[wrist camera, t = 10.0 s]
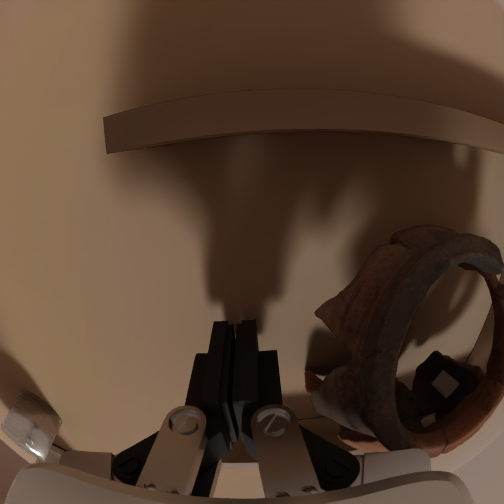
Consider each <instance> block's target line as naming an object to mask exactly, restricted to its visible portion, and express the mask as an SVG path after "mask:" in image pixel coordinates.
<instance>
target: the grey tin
mask: <svg viewBox="0 0 504 504" xmlns="http://www.w3.org/2000/svg"><path fill="white" fill-rule="evenodd" d="M61 424H62V420H61V418H60V417H59V415H58V414H57V413H56V412H55V411H54V410H53V409H52V408H51V407H50V406H49V405H47V404H46V403H45V402H44V401H42V400H41V399H40V398H38V397H37V396H35V395H34V394H32V393H30V392H27V391H22V392H21V393H20V395H19V397H18V398H17V400H16V401H15V403H14V405H13V406H12V408H11V410H10V411H9V413H8V415H7V417H6V418H5V420H4V422H3V424H2V425H1V429H2V430H3V431H4V433H5V434H6V435H7V436H8V437H9V438H10V439H11V440H13V441H14V442H15V443H16V444H17V445H19V446H20V447H21V448H22V449H24V450H25V451H27V452H28V453H30V454H31V455H33V456H35V457H36V458H38V459H40V460H43V461H45V459H46V457H47V454H48V452H49V450H50V447H51V445H52V443H53V441H54V439H55V436H56V434H57V432H58V430H59V428H60V426H61Z"/></svg>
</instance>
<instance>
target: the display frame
mask: <svg viewBox="0 0 504 504" xmlns="http://www.w3.org/2000/svg"><path fill="white" fill-rule="evenodd" d="M103 121H104V133H105V142H106V151H107V154H110V153H116V152H122V151H129V150H136V149H143V148H149V147H155V146H160V145H166V144H172V143H178V142H185V141H192V140H199V139H207V138H215V137H225V136H235V135H246V134H261V133H280V132H353V133H372V134H385V135H396V136H406V137H415V138H423V139H430V140H437V141H443V142H449V143H455V144H460V145H465V146H470V147H475V148H480V149H484V150H488V151H493V152H497V153H501V154H504V124H501V123H499V122H496V121H493V120H490V119H487V118H484V117H481V116H478V115H475V114H472V113H469V112H465V111H462V110H458V109H454V108H451V107H447V106H443V105H439V104H434V103H430V102H425V101H420V100H415V99H410V98H404V97H398V96H392V95H385V94H377V93H368V92H359V91H347V90H331V89H264V90H248V91H236V92H226V93H217V94H209V95H202V96H195V97H189V98H183V99H178V100H172V101H167V102H162V103H157V104H153V105H148V106H144V107H140V108H136V109H132V110H128V111H124V112H121V113H117V114H113V115H110V116H107V117H103ZM500 283H501V284H504V271H503V272H502V276H501V279H500ZM494 324H495V322H494V311H493V304H492V306H491V309H490V311H489V314H488V317H487V319H486V322H485V324H484V326H483V329H482V331H481V334H480V336H479V338H478V340H477V342H476V345H475V347H474V349H473V351H472V353H471V355H470V357H469V359H468V361H467V364H470V365H472V366H475V365H476V366H480V367H481V369H482V370H483V372H484V373H485V374H486V372H487V368H486V365H487V362H488V359H489V356H490V353H491V349H492V342H493V332H494ZM297 421H298V424H299V425H301V426H302V427H304V428H306V429H307V430H309V431H311V432H313V433H314V434H316V435H318V436H320V437H321V438H323V439H325V440H327V441H329V442H331V443H332V444H334V445H336V446H338V447H340V448H342V449H344V450H346V451H348V452H350V453H351V454H353V455H360V454H364V453H368V452H369V451H364V450H360V449H356V448H354V447H352V446H350V445H348V444H346V443H344V442H343V441H341V440H340V439H339V437H338V433H339V432H341V431H340V426H339V423H337V422H335V421H334V420H333V419H331V418H328V417H319V418H311V419H303V420H297ZM433 422H435V416H432V417H429V418H427V419H425V420H423V421H421V423H422V424H423V427H427V426H429V425H430V424H432V423H433ZM221 468H259V466H258V462H257V460H255V459H254V458H253V457H251V456H250V455H249V454H248V453H247V452H246V448H245V444H244V442H242V439H241V435H240V431H239V440H238V442H233V449H229V454H227V455H226V456H225V457H223V460H222V465H221Z"/></svg>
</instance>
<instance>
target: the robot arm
mask: <svg viewBox="0 0 504 504" xmlns="http://www.w3.org/2000/svg"><path fill="white" fill-rule="evenodd" d="M239 431H240V435H241V439H242V442H244V444H245V448H246V452H247V453H248V454H249V455H250V456H251V457H253V458H254V459H255V460H257V462H258V466H259V471H260V476H261V481H262V485H263V490H264V494H265V498H257V499H230V498H213V496H214V492H215V488H216V485H217V481H218V477H219V473H220V469H221V465H222V460H223V457H225V456H226V455H227V454H229V449H233V442H238V440H239ZM4 504H474V501H473V499H472V497H471V494H470V492H469V490H468V488H467V487H466V485H465V484H464V482H463V481H462V480H461V479H460V478H459V477H458V476H457V475H455V474H453V473H450V472H443V471H431V462H430V458H429V455H428V454H427V453H426V452H425V451H424V450H421V449H414V448H413V449H406V450H397V451H386V452H371V453H364V455H353V454H351V453H350V452H348V451H346V450H344V449H342V448H340V447H338V446H336V445H334V444H332V443H331V442H329V441H327V440H325V439H323V438H321V437H320V436H318V435H316V434H314V433H313V432H311V431H309V430H307V429H306V428H304V427H302V426H301V425H299V424H298V421H297V418H296V416H295V414H294V412H293V411H292V410H291V409H289V408H288V407H285V406H283V404H282V394H281V384H280V375H279V365H278V356H277V350H271V351H259V349H258V338H257V327H256V319H254V320H242V324H237V330H236V338H235V332H234V326H233V324H228V321H216V322H214V323H213V328H212V334H211V339H210V345H209V350H208V353H197V354H196V356H195V360H194V365H193V369H192V374H191V379H190V383H189V388H188V393H187V397H186V402H185V406H180V407H177V408H175V409H173V410H171V411H170V412H169V413H168V414H167V416H166V417H165V419H164V421H163V424H162V426H161V428H160V431H158V432H156V433H154V434H153V435H151V436H149V437H148V438H146V439H144V440H142V441H141V442H139V443H137V444H135V445H133V446H132V447H130V448H128V449H126V450H124V451H122V452H121V453H119V454H118V455H113V454H112V453H107V452H87V451H75V450H70V451H66V452H65V451H64V450H62V449H60V448H58V447H56V446H54V445H51V447H50V450H49V452H48V454H47V457H46V459H45V461H43V460H40V459H38V458H37V461H36V463H33V464H29V465H26V466H25V467H23V468H22V469H21V470H20V471H19V473H18V474H17V476H16V477H15V479H14V481H13V483H12V485H11V488H10V490H9V492H8V495H7V498H6V500H5V503H4Z"/></svg>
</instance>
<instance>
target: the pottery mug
mask: <svg viewBox="0 0 504 504" xmlns="http://www.w3.org/2000/svg"><path fill="white" fill-rule="evenodd" d="M455 265H458V266H459V267H461V268H463V269H465V270H474V271H477V272H479V273H480V274H481V275H482V276H483V277H484V278H485V281H486V283H487V286H488V288H489V291H490V295H491V299H492V304H493V311H494V322H495V324H494V332H493V342H492V349H491V353H490V356H489V359H488V362H487V365H486V368H487V372H486V374H485V373H484V372H483V370H482V369H481V367H480V366H476V365H475V366H472V365H470V364H467V363H459V362H457V361H455V360H453V359H452V358H450V357H449V356H447V355H442V354H441V353H440V352H439V351H434V352H432V353H431V354H430V356H429V357H428V358H427V359H426V360H425V361H424V362H423V363H421V364H420V365H419V366H418V367H417V368H416V375H415V378H414V381H413V387H412V391H410V390H409V389H408V388H407V387H406V386H405V384H403V383H402V382H399V381H398V379H397V378H396V372H397V365H398V357H399V355H400V350H401V348H402V346H403V343H404V339H405V336H406V334H407V332H408V330H409V327H410V325H411V322H412V320H413V318H414V315H415V313H416V311H417V309H418V307H419V305H420V303H421V302H422V300H423V298H424V296H425V295H426V293H427V291H428V290H429V288H430V287H431V285H432V284H433V283H434V282H435V281H436V280H437V279H438V278H439V277H440V276H441V275H442V274H443V273H444V272H445V271H446V270H448V269H449V268H452V267H453V266H455ZM503 271H504V263H503V261H502V257H501V253H500V250H499V248H498V247H497V246H496V245H495V244H494V243H492V242H491V241H490V240H488V239H486V238H483V237H479V236H476V235H473V234H458V233H456V232H454V231H453V230H451V229H448V228H445V227H442V226H436V225H419V226H414V227H411V228H408V229H405V230H401V231H398V232H396V233H394V234H393V235H392V236H391V238H390V245H381V246H378V247H377V248H376V249H375V250H374V251H373V253H372V254H371V255H370V256H369V257H368V259H367V260H366V262H365V263H364V265H363V267H362V269H361V270H360V271H359V272H358V274H357V275H356V277H355V278H354V279H353V280H352V282H351V283H350V284H349V285H348V286H347V287H346V288H345V289H344V290H342V291H341V292H340V293H339V294H338V295H337V296H335V297H334V298H331V299H329V300H328V301H326V302H325V303H324V304H323V305H321V306H320V307H319V308H318V309H317V310H316V311H315V315H316V317H318V318H320V319H321V320H322V321H323V322H324V323H325V325H326V326H327V327H328V328H329V329H330V331H331V332H332V333H333V334H334V335H335V336H336V337H337V338H338V339H339V340H340V341H341V342H342V344H343V345H344V346H345V347H346V348H347V350H348V351H349V353H350V355H351V356H352V361H351V362H350V363H349V364H346V365H343V366H339V367H336V368H335V369H333V370H332V371H331V372H330V373H329V374H328V375H327V376H326V377H325V379H324V380H323V381H322V380H321V379H319V378H318V377H317V376H316V375H315V374H314V373H313V372H312V371H311V370H307V371H306V372H305V383H306V385H305V387H306V390H307V392H308V394H309V395H310V397H311V400H312V403H313V406H314V408H315V410H316V412H317V413H319V414H322V415H324V416H326V417H328V418H331V419H333V420H334V421H335V422H337V423H339V426H340V431H341V432H339V433H338V437H339V439H340V440H341V441H343V442H344V443H346V444H348V445H350V446H352V447H354V448H356V449H360V450H364V451H369V452H386V451H397V450H406V449H413V448H414V449H421V450H424V451H425V452H426V453H427V454H428V455H429V458H433V457H437V456H439V455H440V454H441V453H442V454H445V453H448V452H450V451H452V450H453V449H455V448H456V447H458V446H459V445H461V444H463V443H464V442H465V441H467V440H468V439H469V438H471V437H472V436H473V435H474V434H475V433H476V432H477V431H478V430H479V429H480V428H481V427H482V425H483V424H484V423H485V422H486V421H487V420H488V418H489V417H490V416H491V415H492V413H493V412H494V410H495V409H496V407H497V406H498V405H499V403H500V401H501V400H502V398H503V396H504V284H501V283H500V282H499V281H498V279H497V277H496V275H497V274H501V273H502V272H503ZM432 416H435V422H433V423H432V424H430V425H429V426H427V427H423V424H422V423H421V421H423V420H425V419H427V418H429V417H432Z"/></svg>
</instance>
